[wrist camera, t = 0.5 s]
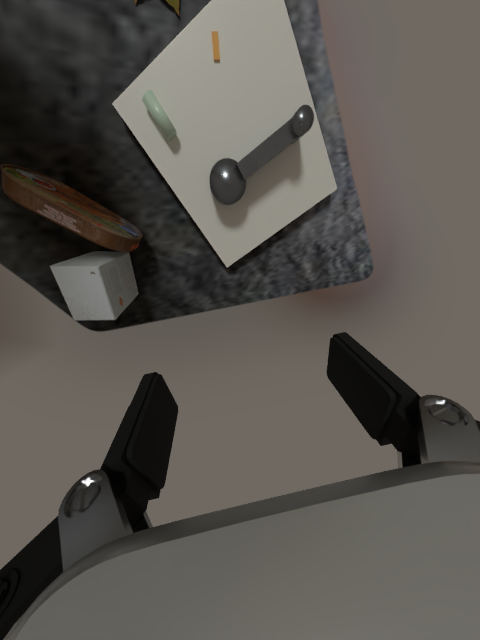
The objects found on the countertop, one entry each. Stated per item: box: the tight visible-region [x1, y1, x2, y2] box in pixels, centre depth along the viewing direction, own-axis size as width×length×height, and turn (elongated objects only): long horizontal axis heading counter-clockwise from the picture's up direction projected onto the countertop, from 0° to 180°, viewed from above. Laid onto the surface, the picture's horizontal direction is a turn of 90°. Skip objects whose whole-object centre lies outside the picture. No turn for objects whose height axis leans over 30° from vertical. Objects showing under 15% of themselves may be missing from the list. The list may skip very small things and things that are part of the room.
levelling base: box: [112, 0, 337, 267], centre depth 26 cm, size 24×22×4 cm
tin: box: [1, 164, 142, 252], centre depth 25 cm, size 15×3×8 cm, turn 57°
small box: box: [50, 251, 139, 320], centre depth 29 cm, size 8×6×10 cm
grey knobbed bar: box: [209, 105, 314, 205], centre depth 25 cm, size 15×5×4 cm, turn 123°
